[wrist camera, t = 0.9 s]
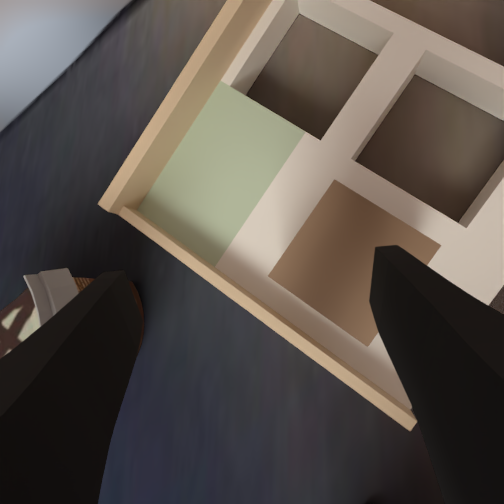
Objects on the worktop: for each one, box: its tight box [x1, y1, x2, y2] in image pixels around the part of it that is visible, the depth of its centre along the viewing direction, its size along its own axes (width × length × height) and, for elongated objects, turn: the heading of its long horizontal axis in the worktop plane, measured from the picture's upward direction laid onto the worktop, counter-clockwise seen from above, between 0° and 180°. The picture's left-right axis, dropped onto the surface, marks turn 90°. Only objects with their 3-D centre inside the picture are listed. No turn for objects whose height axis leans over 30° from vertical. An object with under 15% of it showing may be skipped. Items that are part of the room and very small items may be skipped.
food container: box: [0, 268, 144, 359], centre depth 20 cm, size 12×6×10 cm, turn 125°
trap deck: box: [98, 0, 504, 431], centre depth 20 cm, size 20×18×5 cm
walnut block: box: [268, 179, 441, 347], centre depth 17 cm, size 5×5×5 cm
